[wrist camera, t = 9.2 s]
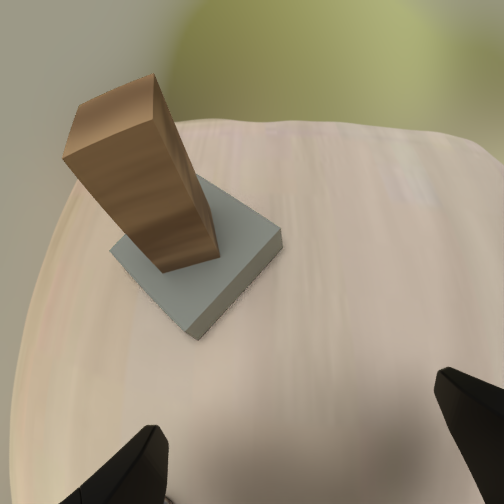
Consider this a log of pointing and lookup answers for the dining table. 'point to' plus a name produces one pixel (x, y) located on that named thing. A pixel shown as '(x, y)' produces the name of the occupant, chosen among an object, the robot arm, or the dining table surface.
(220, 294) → the slate tile
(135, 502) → the robot arm
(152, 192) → the pillar
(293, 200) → the dining table surface
